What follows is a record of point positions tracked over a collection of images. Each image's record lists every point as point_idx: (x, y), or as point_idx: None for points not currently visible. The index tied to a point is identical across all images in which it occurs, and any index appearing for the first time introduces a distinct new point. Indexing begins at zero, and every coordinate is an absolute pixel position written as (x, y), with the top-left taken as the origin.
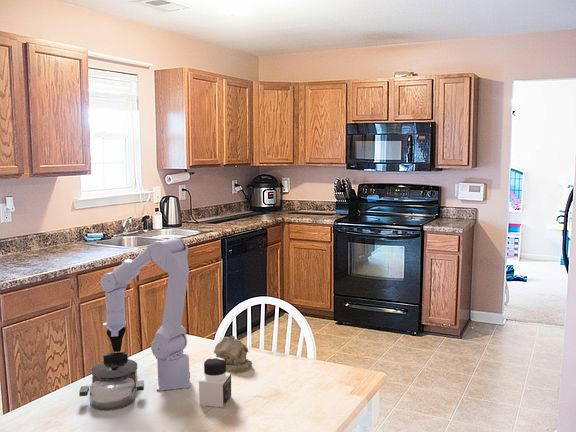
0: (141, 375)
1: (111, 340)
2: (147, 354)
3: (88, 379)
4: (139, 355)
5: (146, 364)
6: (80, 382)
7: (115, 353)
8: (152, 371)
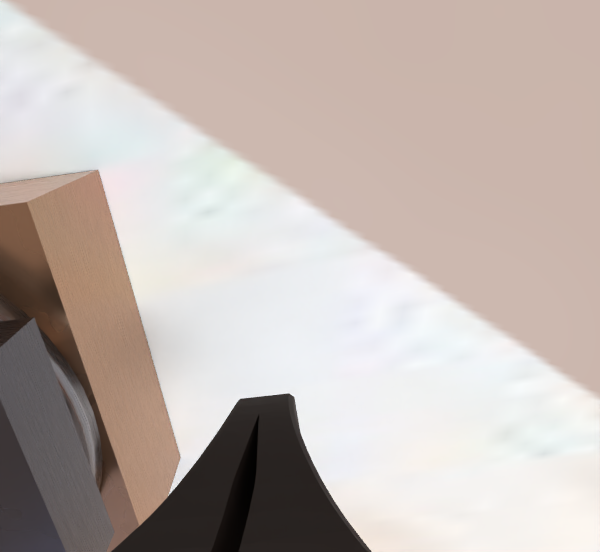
0: (175, 483)
1: (141, 538)
2: (596, 471)
3: (81, 94)
4: (594, 420)
5: (381, 488)
6: (4, 28)
7: (8, 495)
8: None
